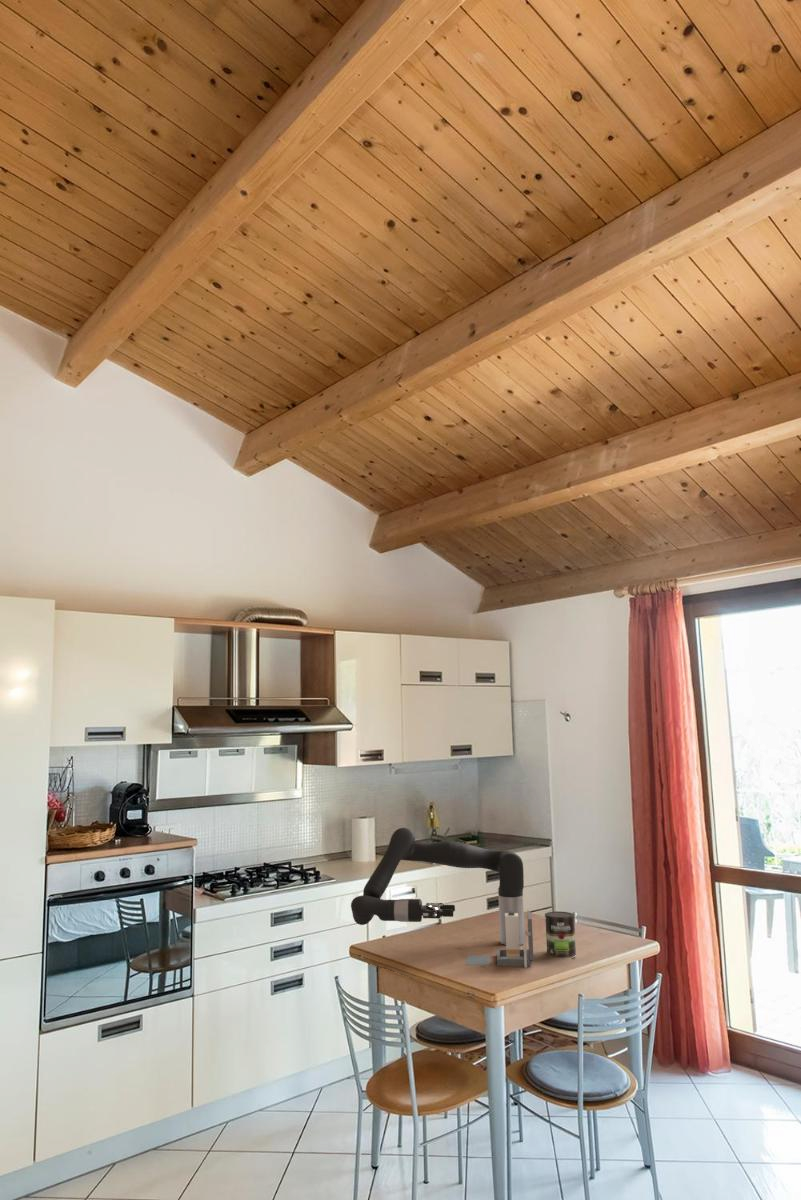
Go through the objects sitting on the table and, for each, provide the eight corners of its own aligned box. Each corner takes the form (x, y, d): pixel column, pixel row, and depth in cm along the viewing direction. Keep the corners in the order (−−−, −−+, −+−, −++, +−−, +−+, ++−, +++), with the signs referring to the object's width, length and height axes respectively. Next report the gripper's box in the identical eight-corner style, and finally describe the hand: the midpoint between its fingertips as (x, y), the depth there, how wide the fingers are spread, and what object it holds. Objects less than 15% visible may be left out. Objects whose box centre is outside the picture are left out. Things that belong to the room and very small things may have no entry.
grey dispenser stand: (497, 958, 287) (495, 910, 290) (532, 958, 286) (530, 910, 288) (497, 970, 272) (495, 919, 275) (534, 970, 271) (531, 920, 273)
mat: (467, 958, 287) (467, 955, 288) (490, 958, 287) (490, 955, 287) (465, 967, 276) (465, 964, 276) (489, 968, 275) (489, 965, 275)
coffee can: (577, 960, 283) (575, 917, 285) (547, 959, 284) (545, 917, 287) (575, 952, 293) (573, 911, 295) (546, 952, 294) (544, 911, 297)
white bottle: (506, 958, 283) (504, 910, 285) (519, 958, 282) (517, 910, 285) (506, 962, 278) (504, 913, 280) (520, 962, 277) (518, 913, 280)
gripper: (405, 903, 281) (452, 903, 279) (410, 895, 295) (455, 895, 293) (405, 926, 279) (453, 926, 277) (410, 917, 293) (455, 917, 291)
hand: (454, 910), depth 285 cm, fingers open, 8 cm apart
